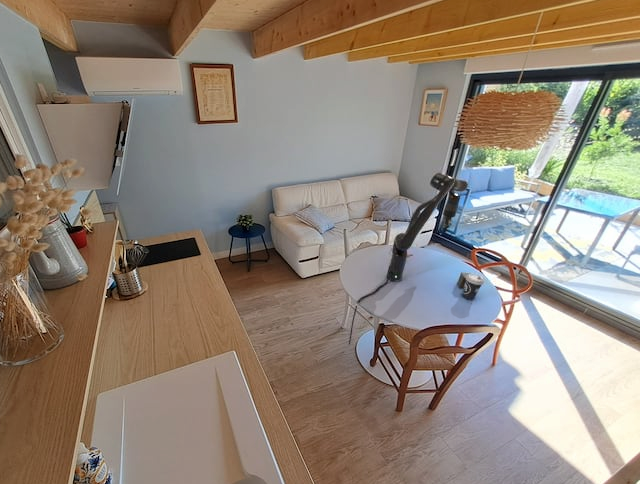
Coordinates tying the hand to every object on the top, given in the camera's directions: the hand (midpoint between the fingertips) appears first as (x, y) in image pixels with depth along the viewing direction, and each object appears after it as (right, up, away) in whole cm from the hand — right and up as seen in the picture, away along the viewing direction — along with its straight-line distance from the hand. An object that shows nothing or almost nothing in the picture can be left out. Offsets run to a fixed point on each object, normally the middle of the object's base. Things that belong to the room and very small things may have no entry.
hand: (443, 232), depth 202 cm
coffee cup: (+3, -43, -21) cm, 48 cm away
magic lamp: (-24, -21, +18) cm, 37 cm away
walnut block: (+7, -37, -11) cm, 40 cm away
